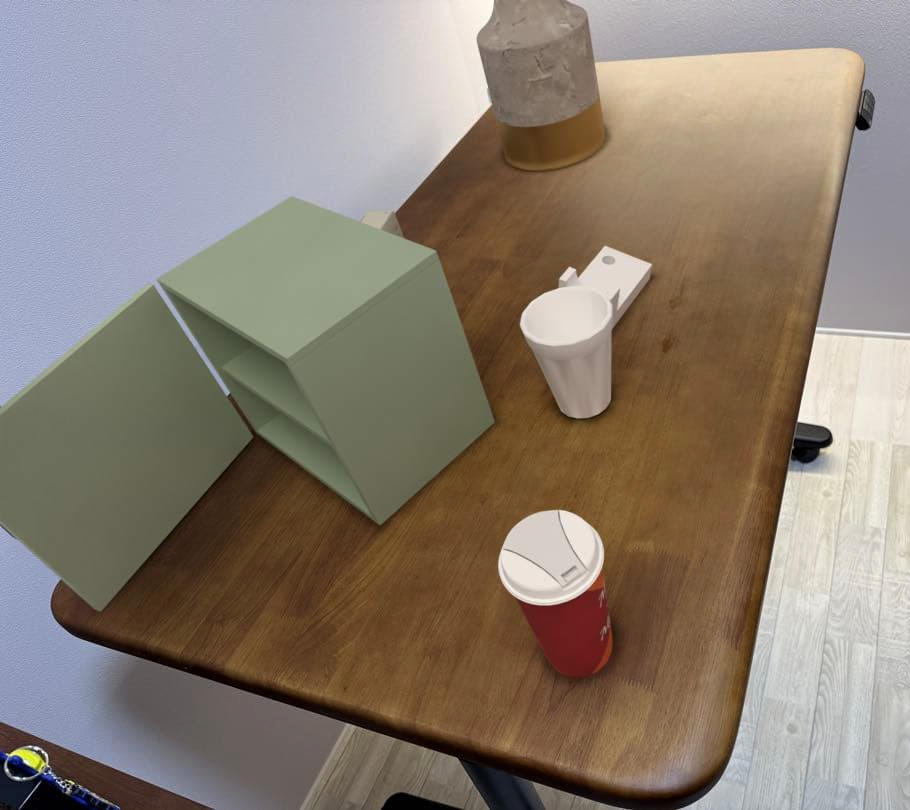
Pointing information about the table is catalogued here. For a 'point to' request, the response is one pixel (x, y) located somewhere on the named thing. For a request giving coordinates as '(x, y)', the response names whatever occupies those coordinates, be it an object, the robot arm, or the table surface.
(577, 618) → the coffee cup
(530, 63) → the vase
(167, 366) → the cupboard door
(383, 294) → the cupboard
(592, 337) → the cup
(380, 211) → the cosmetic box
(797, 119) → the table surface
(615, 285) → the bracket
